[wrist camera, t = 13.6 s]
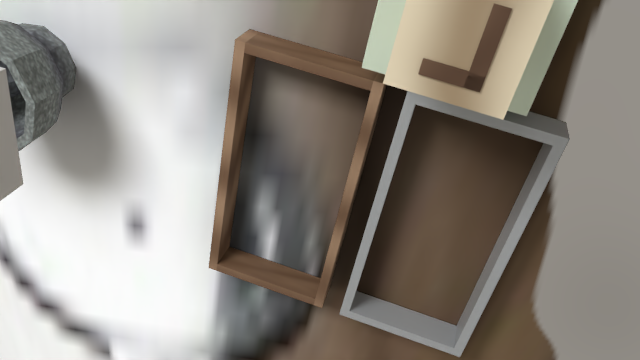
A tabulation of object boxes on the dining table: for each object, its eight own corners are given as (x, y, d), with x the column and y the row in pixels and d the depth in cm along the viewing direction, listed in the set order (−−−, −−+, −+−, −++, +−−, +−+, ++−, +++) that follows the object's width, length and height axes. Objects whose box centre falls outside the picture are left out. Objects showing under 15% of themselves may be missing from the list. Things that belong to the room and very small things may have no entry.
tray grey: (413, 77, 37) (407, 90, 35) (566, 122, 36) (569, 139, 34) (346, 293, 48) (339, 314, 46) (462, 334, 47) (459, 357, 45)
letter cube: (401, 47, 33) (382, 84, 28) (433, -62, 30) (418, -43, 24) (505, 77, 32) (505, 121, 27) (549, -31, 29) (559, -5, 24)
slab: (416, -120, 32) (407, -117, 29) (598, -75, 30) (607, -67, 27) (372, 50, 37) (361, 67, 34) (525, 94, 36) (526, 116, 33)
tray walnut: (249, 29, 39) (235, 39, 37) (390, 70, 37) (384, 83, 35) (221, 250, 50) (208, 267, 47) (329, 288, 48) (321, 308, 46)
